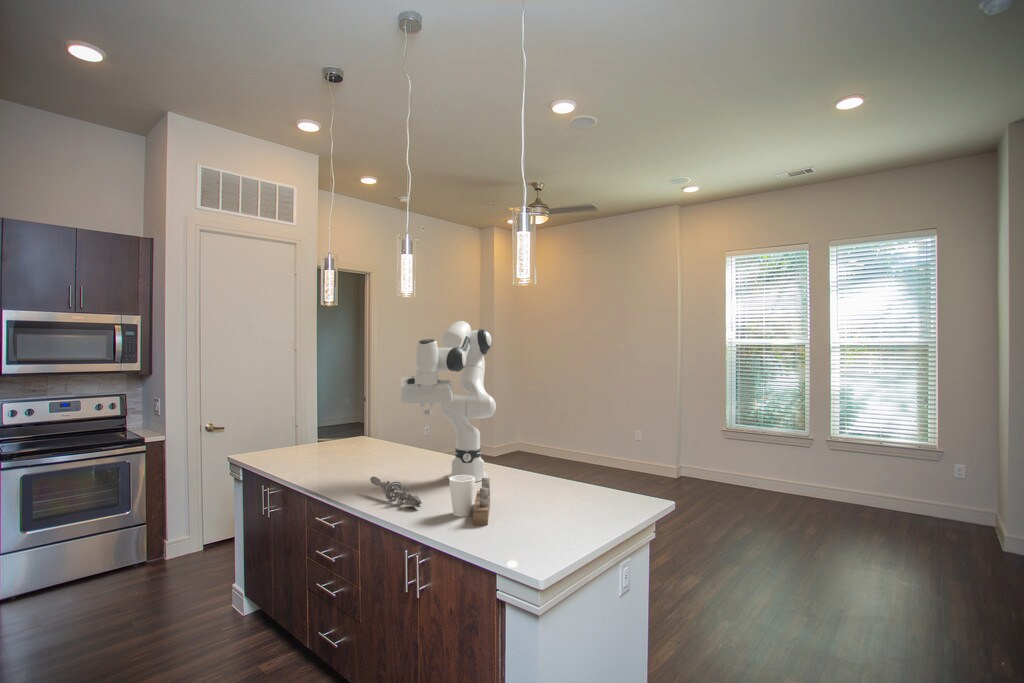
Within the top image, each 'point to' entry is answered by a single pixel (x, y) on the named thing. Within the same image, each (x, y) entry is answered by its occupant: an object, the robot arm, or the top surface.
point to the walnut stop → (482, 504)
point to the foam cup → (462, 494)
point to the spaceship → (397, 492)
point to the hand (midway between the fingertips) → (427, 414)
